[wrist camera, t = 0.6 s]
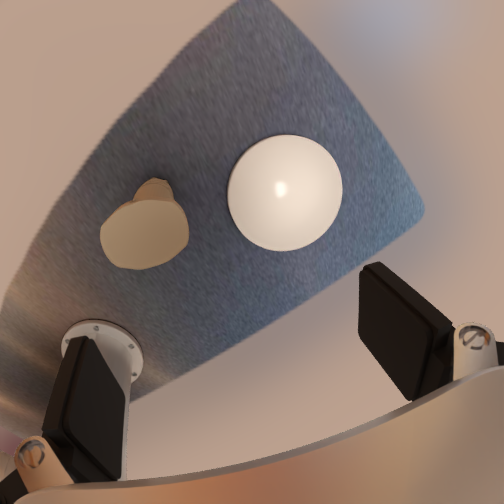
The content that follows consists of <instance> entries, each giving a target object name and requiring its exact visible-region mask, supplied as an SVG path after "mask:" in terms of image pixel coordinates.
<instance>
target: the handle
mask: <svg viewBox="0 0 504 504" xmlns="http://www.w3.org/2000/svg"><path fill="white" fill-rule="evenodd" d="M188 239H189V227H188V222H187V218H186V215H185V213H184V211H183V209H182V208H181V206H180V205H179V204H178V203H177V202H176V201H175V200H174V197H173V192H172V189H171V187H170V186H169V183H168V182H167V181H166V180H161V179H157V178H156V177H154V178H151V179H149V180H148V181H147V182H145V183H144V184H143V185H142V186H141V187H140V188H139V189H138V191H137V192H136V194H135V196H134V199H133V200H132V201H129V202H127V203H125V204H123V205H121V206H120V207H119V208H118V209H117V210H116V211H115V212H114V213H113V214H112V215H111V216H110V217H109V218H108V219H107V220H106V221H105V222H104V223H103V225H102V226H101V231H100V240H101V245H102V248H103V250H104V252H105V254H106V256H107V257H108V259H109V260H110V261H111V262H112V263H113V264H114V265H116V266H117V267H121V268H129V269H146V268H150V267H153V266H156V265H160V264H163V263H165V262H167V261H169V260H170V259H172V258H173V257H174V256H175V255H177V254H178V253H179V252H180V251H181V250H182V249H183V248H184V247H185V246H187V243H188Z"/></svg>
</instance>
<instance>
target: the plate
mask: <svg viewBox="0 0 504 504" xmlns="http://www.w3.org/2000/svg"><path fill="white" fill-rule="evenodd" d="M341 199H342V180H341V175H340V172H339V169H338V166H337V165H336V163H335V161H334V159H333V158H332V156H331V155H330V154H329V153H328V152H327V151H326V150H325V149H324V148H323V147H322V146H321V145H319V144H318V143H316V142H314V141H312V140H310V139H307V138H304V137H300V136H295V135H276V136H271V137H268V138H265V139H263V140H260V141H258V142H257V143H255V144H254V145H252V146H251V147H249V148H248V149H247V150H246V151H245V152H244V153H243V154H242V155H241V156H240V158H239V159H238V160H237V162H236V163H235V165H234V167H233V169H232V171H231V174H230V177H229V181H228V186H227V202H228V207H229V211H230V213H231V216H232V218H233V220H234V222H235V224H236V226H237V227H238V229H239V230H240V231H241V233H242V234H243V235H244V236H245V237H246V238H247V239H249V240H250V241H251V242H253V243H254V244H256V245H258V246H260V247H263V248H265V249H269V250H274V251H289V250H295V249H299V248H301V247H304V246H306V245H308V244H310V243H312V242H314V241H315V240H316V239H318V238H319V237H320V236H321V235H322V234H324V233H325V231H326V230H327V229H328V228H329V227H330V225H331V224H332V222H333V221H334V219H335V217H336V215H337V213H338V210H339V207H340V204H341Z"/></svg>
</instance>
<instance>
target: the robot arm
mask: <svg viewBox="0 0 504 504" xmlns="http://www.w3.org/2000/svg"><path fill="white" fill-rule="evenodd" d="M358 333H359V337H360V339H361V340H362V342H363V343H364V344H365V345H366V347H367V348H368V349H369V351H370V352H371V353H372V355H373V356H374V357H375V359H376V360H377V361H378V363H379V364H380V365H381V366H382V368H383V369H384V370H385V372H386V373H387V374H388V376H389V377H390V378H391V380H392V381H393V382H394V384H395V385H396V386H397V388H398V389H399V390H400V391H401V393H402V394H403V396H404V397H405V398H406V399H407V400H408V401H411V400H412V402H411V403H409V404H407V405H405V406H403V407H400V408H398V409H396V410H394V411H392V412H390V413H388V414H385V415H383V416H381V417H379V418H376V419H374V420H372V421H369V422H367V423H365V424H362V425H360V426H357V427H355V428H353V429H350V430H347V431H345V432H342V433H339V434H337V435H334V436H331V437H329V438H326V439H323V440H320V441H317V442H314V443H311V444H308V445H305V446H302V447H299V448H296V449H292V450H289V451H286V452H282V453H279V454H275V455H272V456H268V457H265V458H261V459H257V460H253V461H249V462H245V463H240V464H236V465H231V466H226V467H222V468H217V469H211V470H206V471H201V472H195V473H188V474H182V475H175V476H167V477H159V478H149V479H139V480H128V481H127V473H126V471H127V468H126V457H127V431H128V412H129V399H130V387H131V383H132V382H134V381H135V380H136V379H137V378H138V377H139V375H140V374H141V372H142V369H143V361H144V359H143V352H142V349H141V347H140V345H139V344H138V342H137V341H136V339H135V338H134V337H133V336H132V335H131V334H130V333H128V332H127V331H126V330H124V329H123V328H121V327H119V326H117V325H115V324H113V323H110V322H106V321H102V320H85V321H81V322H78V323H76V324H74V325H73V326H71V327H70V328H69V329H68V330H67V332H66V333H65V335H64V337H63V340H62V344H61V352H62V356H63V360H62V363H61V366H60V369H59V372H58V375H57V378H56V382H55V385H54V388H53V391H52V394H51V398H50V401H49V405H48V408H47V412H46V415H45V419H44V423H43V426H42V431H43V434H42V437H40V436H32V437H28V438H26V439H25V440H23V441H22V442H21V443H20V444H19V446H18V447H17V449H16V451H15V454H14V457H13V456H11V455H9V454H7V453H5V452H3V451H0V504H504V342H497V341H495V337H494V334H493V333H492V331H491V330H490V329H489V328H487V327H486V326H484V325H482V324H480V323H474V322H469V323H464V324H461V325H460V326H458V327H457V329H455V328H454V327H453V326H452V322H451V321H450V320H449V319H448V318H447V317H446V316H444V315H443V314H442V313H441V312H440V311H439V310H438V309H436V308H435V307H434V306H433V305H432V304H431V303H430V302H428V301H427V300H426V299H425V298H424V297H422V296H421V295H420V294H419V293H418V292H417V291H415V290H414V289H413V288H412V287H411V286H409V285H408V284H407V283H406V282H405V281H403V280H402V279H401V278H400V277H398V276H397V275H396V274H395V273H394V272H392V271H391V270H390V269H389V268H387V267H386V266H385V265H384V264H382V263H381V262H375V263H372V264H368V265H365V266H364V267H363V270H362V271H360V273H359V319H358Z"/></svg>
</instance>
